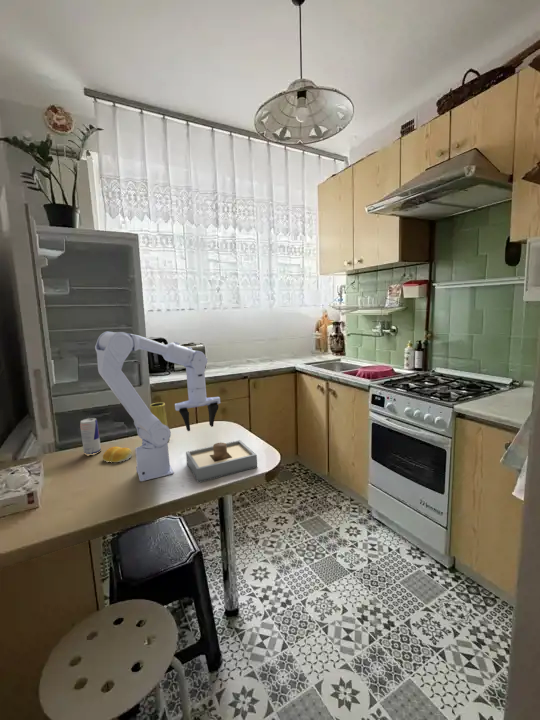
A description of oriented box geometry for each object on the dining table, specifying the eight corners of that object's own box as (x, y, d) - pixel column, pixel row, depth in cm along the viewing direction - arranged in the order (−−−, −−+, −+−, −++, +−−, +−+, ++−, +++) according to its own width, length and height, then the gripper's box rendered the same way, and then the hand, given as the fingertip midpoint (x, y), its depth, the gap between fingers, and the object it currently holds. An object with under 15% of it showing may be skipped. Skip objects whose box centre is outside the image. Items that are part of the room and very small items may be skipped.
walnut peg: (217, 467, 107) (215, 448, 106) (212, 462, 110) (211, 444, 109) (229, 464, 109) (228, 445, 108) (225, 459, 112) (223, 441, 111)
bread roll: (122, 465, 114) (120, 453, 114) (98, 463, 117) (97, 451, 116) (138, 454, 122) (136, 443, 122) (115, 452, 125) (114, 442, 124)
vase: (152, 439, 135) (148, 403, 132) (169, 437, 136) (165, 401, 134) (152, 445, 129) (148, 407, 127) (170, 442, 131) (166, 405, 128)
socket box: (198, 482, 99) (197, 469, 99) (187, 463, 112) (185, 451, 111) (257, 467, 107) (256, 454, 106) (240, 451, 120) (239, 440, 119)
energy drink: (104, 450, 127) (100, 417, 125) (95, 456, 122) (91, 422, 120) (90, 450, 128) (85, 417, 126) (80, 456, 122) (76, 422, 121)
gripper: (176, 393, 108) (180, 436, 110) (222, 386, 114) (225, 427, 116) (172, 388, 114) (175, 429, 116) (215, 382, 120) (218, 421, 122)
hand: (200, 428), depth 117 cm, fingers open, 7 cm apart
